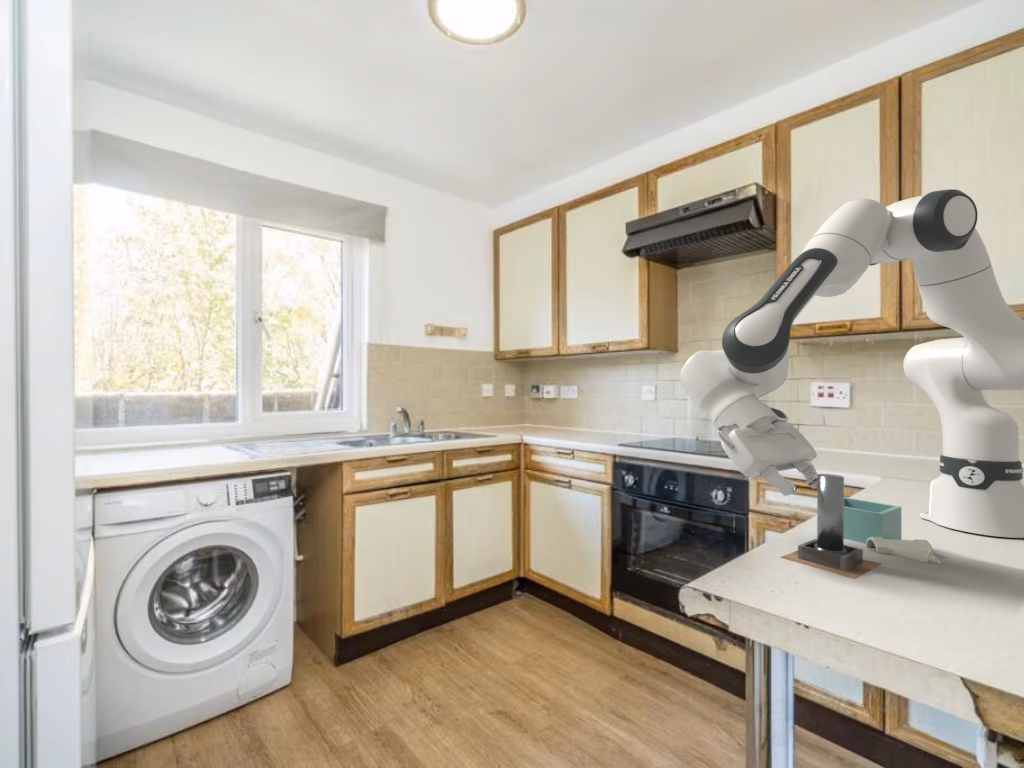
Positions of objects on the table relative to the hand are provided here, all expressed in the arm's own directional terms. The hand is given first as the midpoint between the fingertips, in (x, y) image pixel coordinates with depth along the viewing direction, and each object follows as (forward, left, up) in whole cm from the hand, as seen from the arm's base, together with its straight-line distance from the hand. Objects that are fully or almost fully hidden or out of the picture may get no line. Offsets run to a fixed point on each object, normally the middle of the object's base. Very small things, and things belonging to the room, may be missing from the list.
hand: (806, 489), depth 76 cm
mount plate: (0, +3, -12) cm, 12 cm away
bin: (-19, +1, -12) cm, 22 cm away
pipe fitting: (-13, +9, -12) cm, 20 cm away
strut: (0, +3, -10) cm, 11 cm away
